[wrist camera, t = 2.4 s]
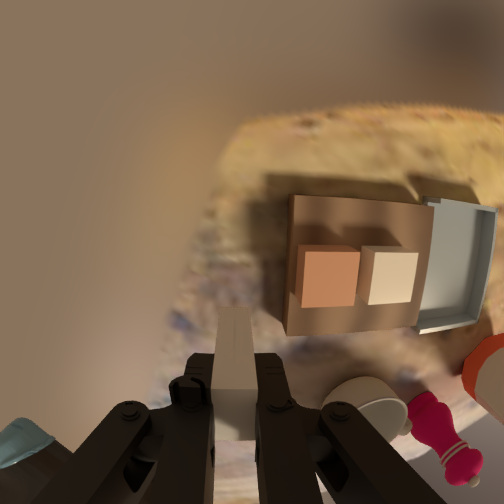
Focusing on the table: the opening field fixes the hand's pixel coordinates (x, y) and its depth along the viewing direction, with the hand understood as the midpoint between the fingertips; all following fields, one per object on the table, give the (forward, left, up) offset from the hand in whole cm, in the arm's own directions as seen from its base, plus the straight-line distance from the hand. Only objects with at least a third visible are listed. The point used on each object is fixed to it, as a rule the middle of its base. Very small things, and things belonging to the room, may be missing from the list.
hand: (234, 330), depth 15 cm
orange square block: (+8, 0, -12) cm, 15 cm away
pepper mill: (+30, -25, -15) cm, 42 cm away
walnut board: (+13, 0, -15) cm, 20 cm away
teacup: (+17, -20, -15) cm, 31 cm away
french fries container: (+41, -17, -15) cm, 47 cm away
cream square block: (+15, 0, -12) cm, 19 cm away
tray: (+28, 0, -15) cm, 31 cm away
